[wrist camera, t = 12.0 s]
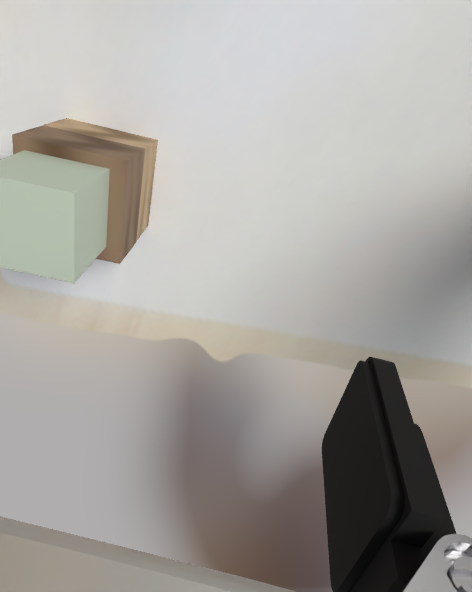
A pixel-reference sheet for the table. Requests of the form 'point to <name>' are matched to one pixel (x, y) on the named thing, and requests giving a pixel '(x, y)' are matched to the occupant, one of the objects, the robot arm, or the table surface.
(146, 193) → the oak slab
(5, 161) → the sage cube
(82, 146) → the walnut slab
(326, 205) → the table surface
